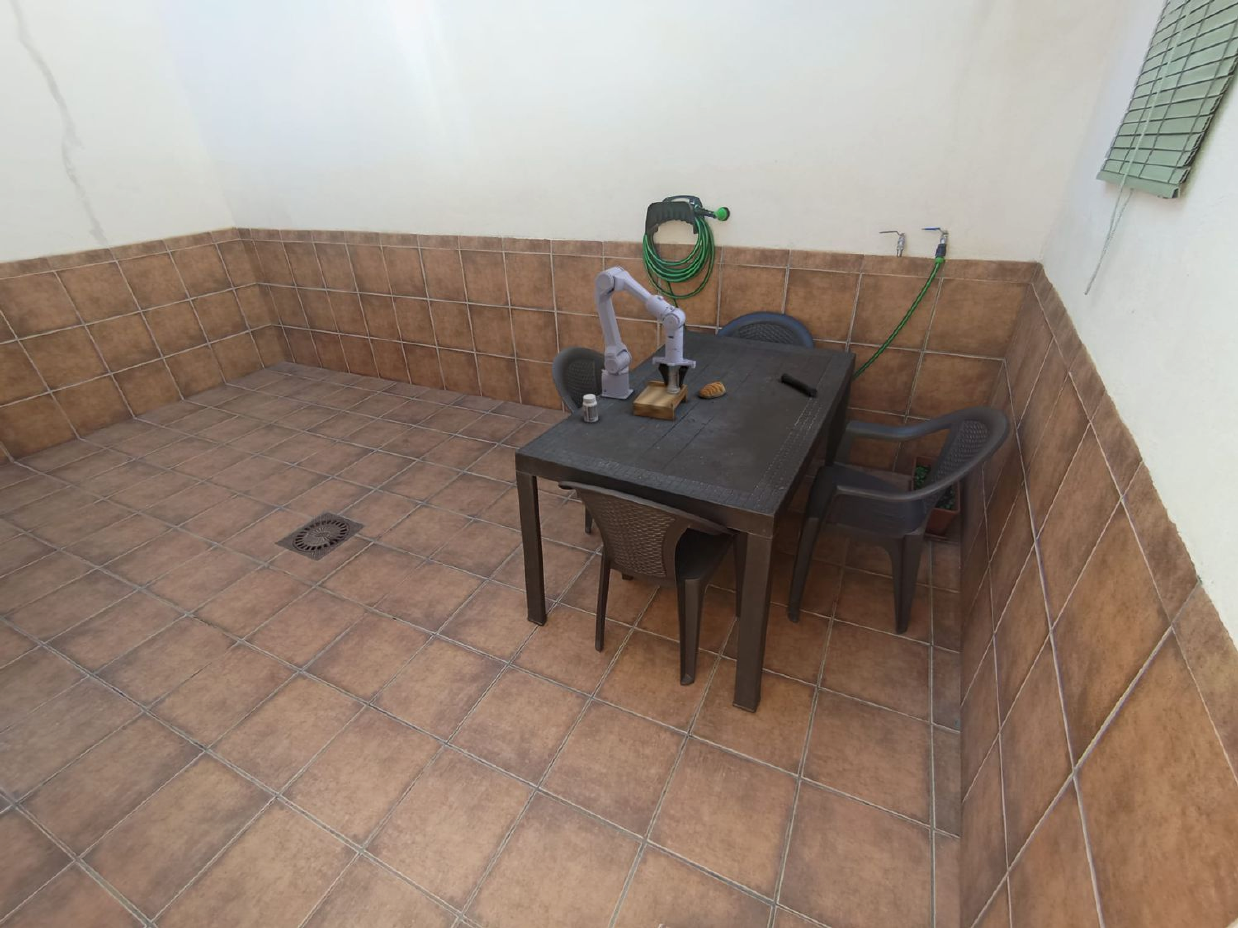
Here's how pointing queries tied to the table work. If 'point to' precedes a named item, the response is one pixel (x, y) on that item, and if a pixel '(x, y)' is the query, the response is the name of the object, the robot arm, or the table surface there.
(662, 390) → the wooden tray
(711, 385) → the pastry
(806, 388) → the flashlight
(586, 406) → the pill bottle
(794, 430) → the table surface
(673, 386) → the rook chess piece
